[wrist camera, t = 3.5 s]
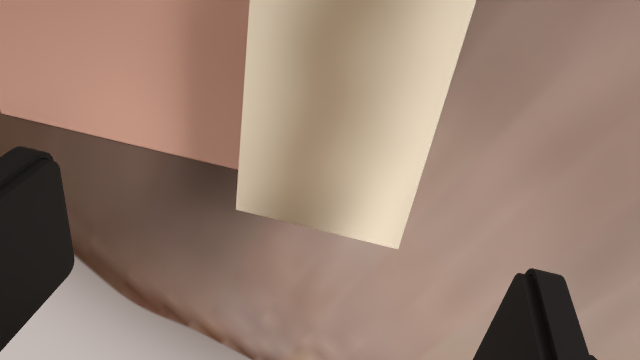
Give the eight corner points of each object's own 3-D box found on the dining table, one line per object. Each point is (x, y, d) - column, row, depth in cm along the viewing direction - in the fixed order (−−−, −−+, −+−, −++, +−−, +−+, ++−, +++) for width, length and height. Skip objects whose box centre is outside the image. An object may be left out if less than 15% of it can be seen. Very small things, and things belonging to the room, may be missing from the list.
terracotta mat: (270, -139, 19) (266, -140, 19) (246, 166, 27) (243, 170, 26) (-63, -200, 20) (-73, -202, 20) (7, 109, 28) (1, 113, 28)
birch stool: (466, -58, 19) (480, -14, 13) (408, 143, 24) (398, 249, 18) (315, -86, 20) (253, -60, 13) (289, 116, 25) (235, 209, 18)
